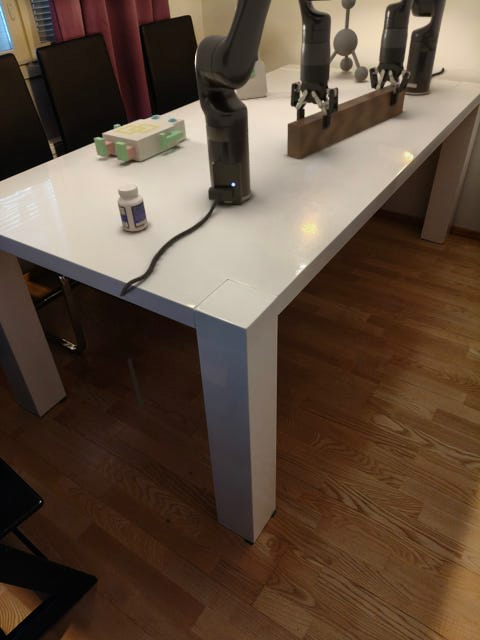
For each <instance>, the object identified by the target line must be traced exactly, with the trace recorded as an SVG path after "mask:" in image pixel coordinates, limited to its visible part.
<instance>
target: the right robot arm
mask: <svg viewBox="0 0 480 640" xmlns="http://www.w3.org/2000/svg"><path fill="white" fill-rule="evenodd" d="M446 3H447V0H400V1H396V2H393V3H390V4H387V6H386V7H385V12H384V21H383V27H382V33H381V39H380V46H379V47H380V48H379V56H378V57H379V58H378V62H379V63H378V65H377V66H373V67H371V68H369V70H368V74H369V79H370V88H371V89H374V91H375V90H378V89H381V88H383V87H385V85H386V83H387V82H389V83H390V84H389V85H391V86H392V92H393V94H392V97H391V104H390V106H395V105H396V104H397V102H398V95H399V92H402V91H405V89H406V92H405V95H410V96H423V95H427V94H429V93H430V87H431V83H432V78H433V77H435V76H437V75H442V74H443V73H444V72H445V68H444V67H442V68H441V70H440V71H438V72H434V73H433V71H434V66H435V59H436V53H437V49H438V42H439V36H440V32H441V26H442V22H443V16H444V11H445V7H446ZM411 15H412V17H415V18H430V20H429V22H428V23H427V24H425V25H423V26H421V27H418V28H415V29H414V30H412V31H411V35H410V41H409V47H408V54H407V61H406V69H405V68H404V67H405V66H404V62H405V58H406V51H407V45H408V36H409V24H410V16H411ZM378 74H379V75H378ZM400 76H401V78H400ZM400 79H401V80H400ZM399 84H400V86H399Z"/></svg>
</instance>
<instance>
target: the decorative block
mask: <svg viewBox="0 0 480 640" xmlns="http://www.w3.org/2000/svg"><path fill="white" fill-rule="evenodd" d="M186 133H187V132H186V124H185V119H183V118H177V117H170V116H166V115H160V114H155V115H152V116H151V117H148V118H145V119H141V118H140V119H137V120H134V121H132V122H129V123H127V124H123V125H122V126H121V124H119V123H116V124H113V129H110V130H108V131H105V132H102V133H101V135H102V137H100V136H97V137H93V142H94V145H95V150H96V155H97V156H99V157H107V156H109V155H111V156H116V158H117V160H118V161H120V162H128V161H130V160H132V161H137V162H143V161H145V160H147V159H149V158H152V157H155V156H156V155H158V154H161V153H163V152H165V151H167V150H170V149H172V148H175V147H176V146H178V143H180V142H182V141H185V140H186V139H187V134H186Z"/></svg>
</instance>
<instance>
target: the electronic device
mask: <svg viewBox="0 0 480 640" xmlns="http://www.w3.org/2000/svg"><path fill="white" fill-rule="evenodd" d="M234 10H235V11H236V6H235V9H234ZM235 11H234V12H235ZM260 46H261V45H260ZM260 46H259V50H258V54H257V59H256V63H255V66H254V69H253V72H252V75H251V77H250V79H249V80H248V82H247V83H246V84H245V86H243V87H242V88H240V89H237V90H235V93H236V94H237V96H238V98H239V99H240V100H241V101H242V100H247V99H255V98H256V99H257V98H265V97H266V96H267V94H268V84H267V83H268V82H267V75H266V74H267V73H266V66H265V62H264V61H263V60H262V59H261V56H260V52H261V50H260V49H261V48H260Z"/></svg>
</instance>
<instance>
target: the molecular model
mask: <svg viewBox="0 0 480 640" xmlns="http://www.w3.org/2000/svg"><path fill="white" fill-rule="evenodd" d="M340 2H341V6H342V8H343V9H344V10H345V20H344V28H342V29H340V30H339V31H338V32H337V33H336V34H335V36H334V38H333V42H332V47H333V50H334V51H333V52H332V53H331V54H330V64H331V63H332V62H333V61H334V59H335V57H336V56H337V55H338V56H341V57H343V58H342V59H341V60H340V62H339V67H340V68H339V69H340V70H341V71H343V72H349V71H351V69H353V66H354V63H355V66H356V69H355V70H354V74H353V76H354V78H355V80H356V81H358V82H364V81H366V80H367V78H368V77H369V70H368V67H366V66H363V65H360V62H359V59H358V56H357V53H356V49H357V47H358V42H359V41H358V40H359V39H358V35H357V34H356V32H355V31H354V30H353V29H351V28H350V27H349V26H350V15H351V13H350V12H351V9H353V8H354V7H355V5H356V3H357V0H341V1H340ZM350 55H351V56H352V58H353V59H352V58H351V57H349V56H350ZM353 61H354V62H353Z"/></svg>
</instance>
